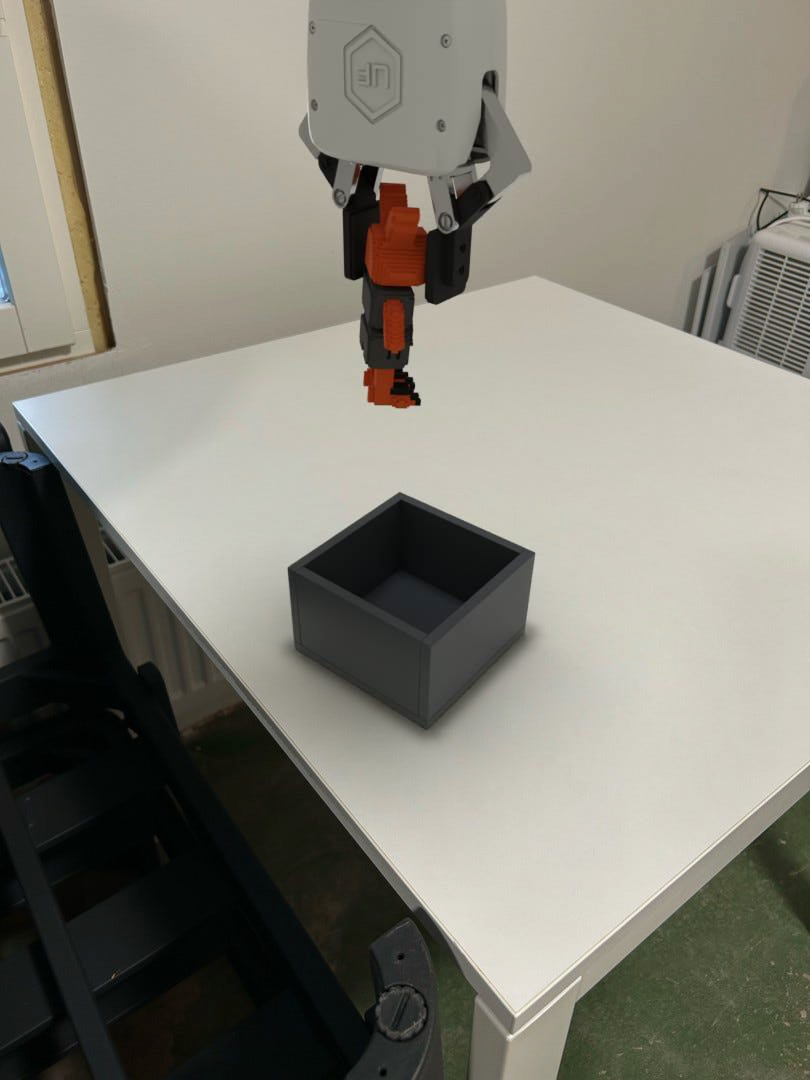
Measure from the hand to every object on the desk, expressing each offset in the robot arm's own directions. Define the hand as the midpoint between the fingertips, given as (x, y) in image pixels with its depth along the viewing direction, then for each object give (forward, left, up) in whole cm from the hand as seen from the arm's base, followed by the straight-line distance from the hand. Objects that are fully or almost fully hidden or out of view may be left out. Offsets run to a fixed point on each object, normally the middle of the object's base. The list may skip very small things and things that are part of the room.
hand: (404, 282), depth 49 cm
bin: (+2, -1, -27) cm, 27 cm away
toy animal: (0, 0, -7) cm, 7 cm away
